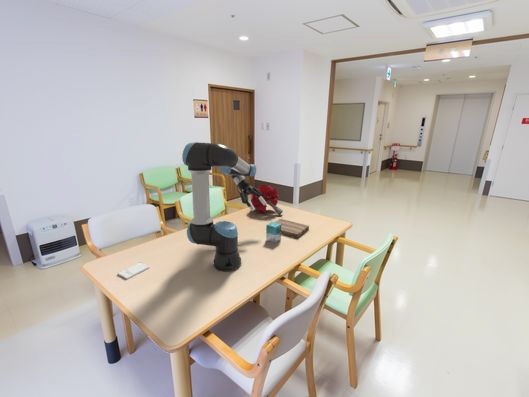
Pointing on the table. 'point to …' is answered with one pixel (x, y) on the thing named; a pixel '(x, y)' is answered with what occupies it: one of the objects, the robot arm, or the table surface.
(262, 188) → the bouquet
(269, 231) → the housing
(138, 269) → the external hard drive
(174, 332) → the table surface
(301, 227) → the walnut stand
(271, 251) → the table surface
